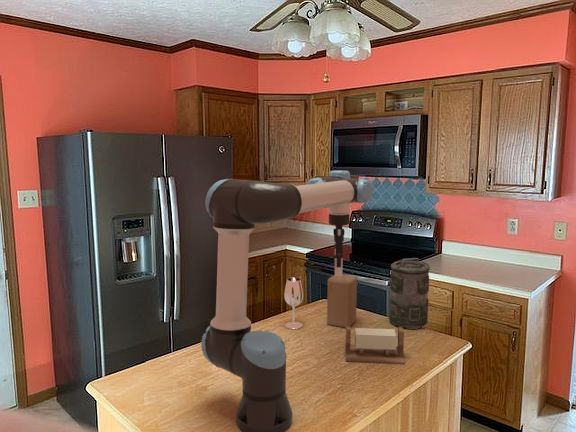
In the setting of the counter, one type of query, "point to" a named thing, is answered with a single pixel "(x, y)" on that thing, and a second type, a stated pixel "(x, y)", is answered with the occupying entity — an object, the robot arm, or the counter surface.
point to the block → (341, 300)
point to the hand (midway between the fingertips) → (338, 270)
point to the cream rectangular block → (375, 338)
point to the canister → (409, 293)
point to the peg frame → (375, 351)
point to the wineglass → (293, 299)
